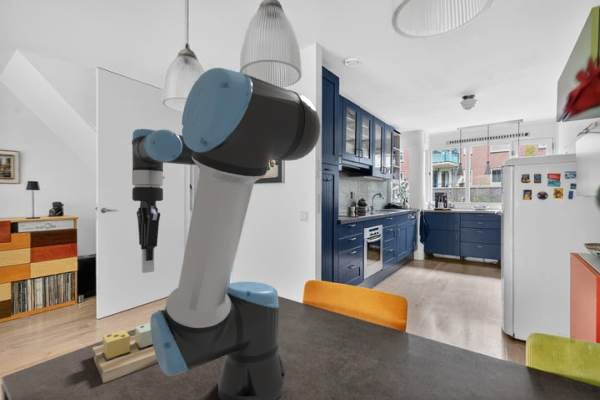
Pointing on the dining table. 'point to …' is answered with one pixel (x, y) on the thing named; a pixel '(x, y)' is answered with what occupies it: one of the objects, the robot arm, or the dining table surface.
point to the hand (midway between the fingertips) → (147, 271)
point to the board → (124, 361)
